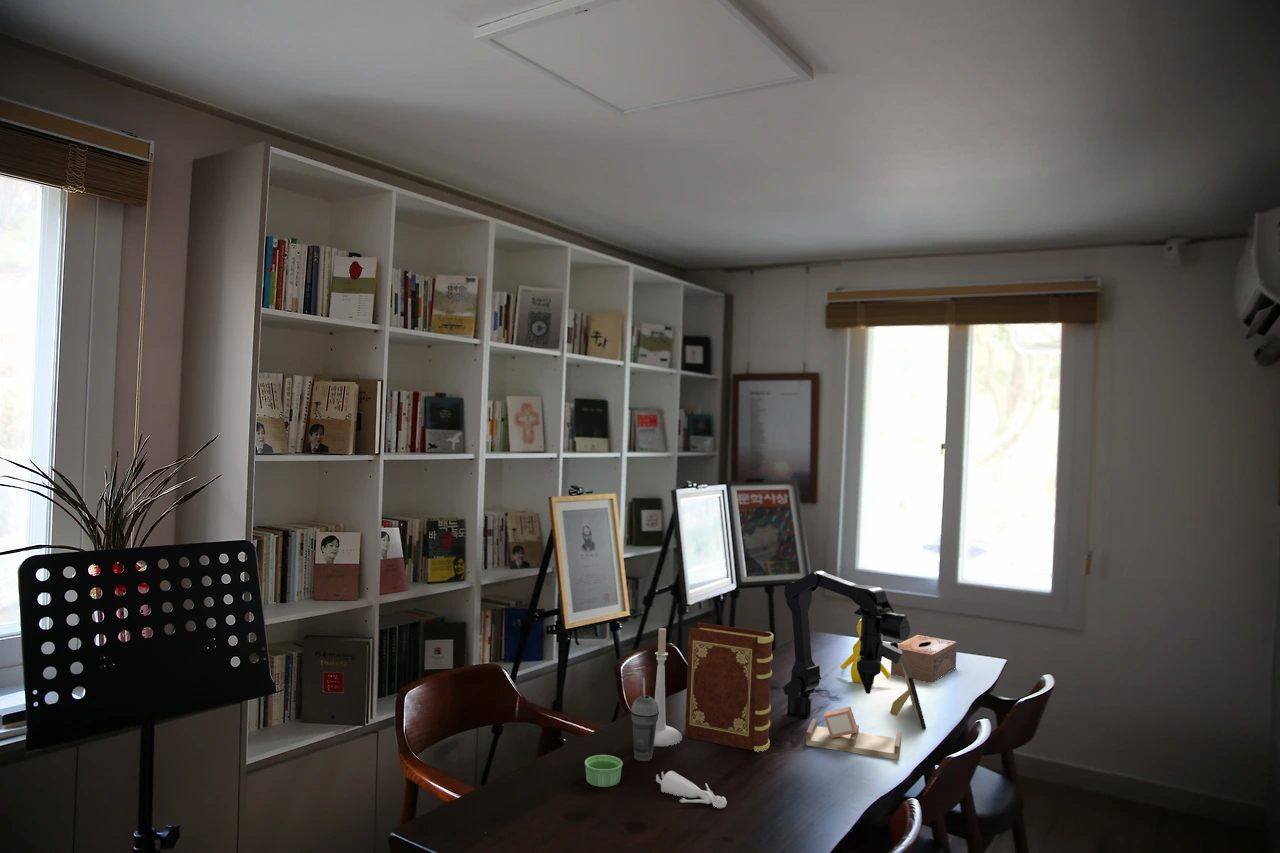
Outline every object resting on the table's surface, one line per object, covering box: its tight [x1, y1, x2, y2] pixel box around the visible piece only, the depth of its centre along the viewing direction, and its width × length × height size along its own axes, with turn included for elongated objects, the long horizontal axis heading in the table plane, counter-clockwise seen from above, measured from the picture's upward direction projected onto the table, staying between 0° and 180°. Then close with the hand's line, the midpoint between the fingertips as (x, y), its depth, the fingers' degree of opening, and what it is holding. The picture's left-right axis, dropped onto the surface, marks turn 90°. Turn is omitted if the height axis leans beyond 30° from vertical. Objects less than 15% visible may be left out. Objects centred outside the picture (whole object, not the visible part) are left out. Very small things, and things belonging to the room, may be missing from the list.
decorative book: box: [684, 622, 774, 753], centre depth 228 cm, size 22×8×30 cm, turn 65°
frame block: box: [823, 706, 858, 738], centre depth 229 cm, size 7×4×6 cm, turn 70°
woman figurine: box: [655, 770, 728, 809], centre depth 192 cm, size 12×4×18 cm
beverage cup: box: [630, 677, 659, 762], centre depth 214 cm, size 7×7×20 cm
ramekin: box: [584, 754, 624, 788], centre depth 199 cm, size 9×9×4 cm
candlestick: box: [654, 627, 683, 747], centre depth 228 cm, size 13×13×30 cm
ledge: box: [805, 718, 903, 761], centre depth 228 cm, size 24×12×4 cm, turn 70°
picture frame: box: [889, 657, 927, 731], centre depth 254 cm, size 23×9×15 cm, turn 168°
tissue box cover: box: [890, 634, 958, 684], centre depth 303 cm, size 26×14×10 cm, turn 142°
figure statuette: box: [839, 618, 892, 684], centre depth 286 cm, size 18×8×22 cm, turn 57°
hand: (868, 688), depth 234 cm, fingers open, 9 cm apart
